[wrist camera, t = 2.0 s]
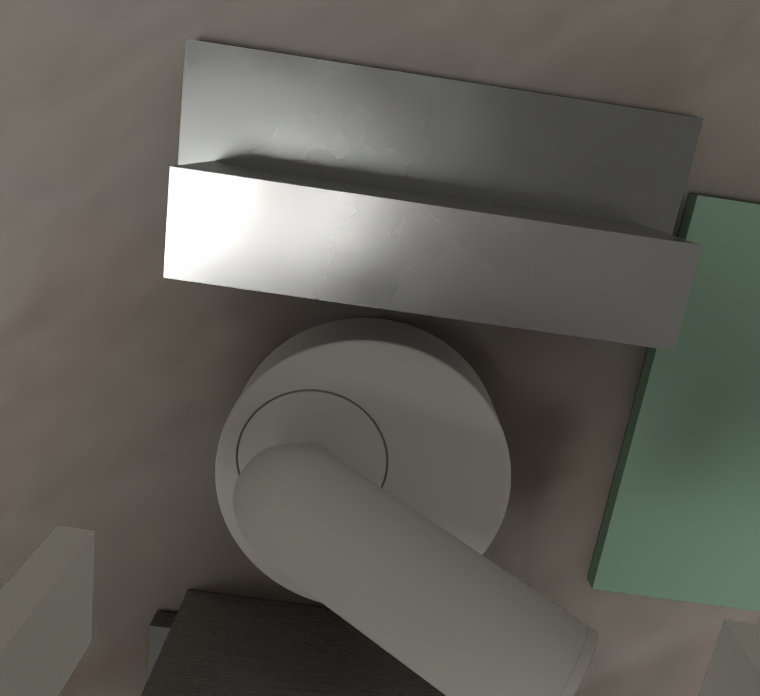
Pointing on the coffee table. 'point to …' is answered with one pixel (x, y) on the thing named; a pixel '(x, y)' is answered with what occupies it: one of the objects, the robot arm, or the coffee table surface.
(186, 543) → the coffee table surface
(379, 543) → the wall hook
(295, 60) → the vise
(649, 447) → the felt pad
